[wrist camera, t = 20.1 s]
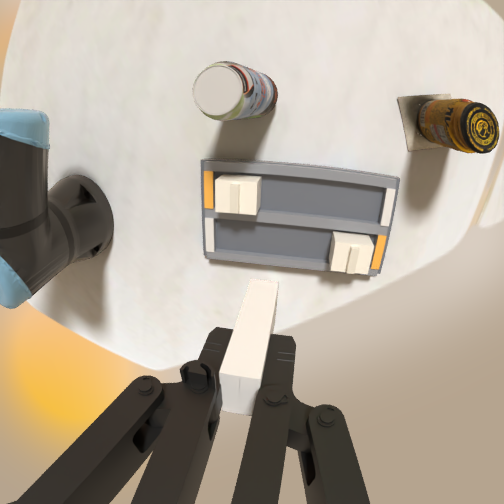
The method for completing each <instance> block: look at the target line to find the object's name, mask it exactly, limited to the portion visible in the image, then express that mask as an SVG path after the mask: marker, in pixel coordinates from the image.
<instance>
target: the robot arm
mask: <svg viewBox="0 0 504 504" xmlns="http://www.w3.org/2000/svg"><path fill="white" fill-rule="evenodd" d="M49 149H50V145H49V119H48V117H47V115H46V114H45V113H44V112H41V111H37V110H28V109H0V304H1V305H2V306H4V307H6V308H9V309H13V308H16V307H18V306H19V305H21V304H22V303H23V302H24V301H26V300H27V299H30V298H31V297H32V296H33V295H34V294H35V293H36V292H37V291H38V290H39V289H41V288H42V287H43V286H44V285H45V284H46V283H47V282H49V281H50V280H51V279H52V278H53V277H54V276H55V275H57V274H58V273H59V272H60V271H61V270H63V269H64V268H65V267H66V266H67V265H69V264H70V263H74V262H77V261H81V260H85V259H89V258H92V257H94V256H96V255H98V254H99V253H100V252H102V251H103V250H104V249H105V248H106V247H107V246H108V244H109V243H110V240H111V238H112V234H113V217H112V212H111V208H110V205H109V203H108V200H107V198H106V196H105V195H104V193H103V192H102V190H101V189H100V188H99V186H98V185H97V184H96V183H95V182H93V181H92V180H91V179H89V178H87V177H85V176H82V175H72V176H69V177H66V178H64V179H62V180H60V181H59V182H57V183H56V184H55V185H54V186H53V187H52V188H51V189H50V190H49V191H48V152H49ZM278 285H279V282H277V281H268V280H259V279H251V280H250V283H249V286H248V288H247V291H246V294H245V297H244V300H243V303H242V306H241V309H240V312H239V315H238V318H237V321H236V324H235V327H234V330H233V329H227V328H220V327H216V328H215V329H214V330H213V331H211V332H210V333H209V335H208V337H207V340H206V343H205V344H204V347H203V350H202V351H201V354H200V356H199V358H198V360H193V361H189V362H187V363H185V364H184V365H183V366H182V367H181V368H180V373H181V377H182V381H181V382H178V383H160V381H159V380H158V379H157V378H155V377H153V376H141V377H138V378H137V379H135V380H134V381H133V382H132V383H131V384H130V385H129V386H128V387H127V388H126V389H125V390H124V391H123V392H122V393H121V394H120V395H119V396H118V397H117V398H116V399H115V400H114V401H113V402H112V404H111V405H110V406H108V408H107V409H106V410H105V411H104V412H103V413H102V414H101V415H100V416H99V417H98V418H97V419H96V420H95V421H94V422H93V423H92V424H91V425H90V426H89V427H88V428H87V429H86V430H85V431H84V432H83V433H82V435H80V437H78V439H76V441H75V442H74V443H73V444H72V445H71V446H70V447H69V448H68V449H67V450H66V451H65V452H64V453H63V454H62V455H61V456H60V457H59V458H58V459H57V460H56V461H55V462H54V463H53V464H52V465H51V466H50V467H49V468H48V469H47V470H46V471H45V472H44V474H42V476H41V477H40V478H39V479H38V480H37V481H36V482H35V483H34V484H33V485H32V486H31V487H30V488H29V489H28V490H27V491H26V492H25V493H24V494H23V495H22V496H21V497H20V498H19V499H18V500H17V501H14V502H12V503H8V504H109V503H110V502H111V501H112V500H113V499H114V497H115V496H116V495H117V494H118V493H119V492H120V490H121V489H122V488H123V487H124V485H125V484H126V483H127V482H128V481H129V480H130V478H131V477H132V476H133V475H134V473H135V472H136V471H137V470H138V469H139V467H140V466H141V465H142V464H143V462H144V461H145V460H146V459H147V457H148V456H149V455H150V453H151V452H152V451H153V453H152V455H151V457H150V459H149V462H148V464H147V467H146V469H145V471H144V474H143V476H142V478H141V481H140V483H139V485H138V488H137V490H136V493H135V495H134V497H133V500H132V502H131V504H194V503H195V500H196V497H197V494H198V491H199V488H200V484H201V481H202V478H203V474H204V471H205V468H206V465H207V461H208V458H209V455H210V452H211V448H212V445H213V441H214V439H215V435H216V432H217V429H218V425H219V419H220V417H219V414H220V411H221V407H222V411H225V412H231V413H236V414H243V415H249V416H252V418H251V423H250V428H249V432H248V436H247V441H246V445H245V449H244V453H243V458H242V462H241V466H240V470H239V474H238V478H237V483H236V486H235V491H234V494H233V498H232V502H231V504H278V499H279V493H280V487H281V480H282V474H283V467H284V460H285V453H286V446H288V447H290V448H293V449H295V450H298V456H299V461H300V467H301V472H302V478H303V483H304V488H305V494H306V500H307V504H370V501H369V498H368V494H367V491H366V487H365V484H364V481H363V477H362V474H361V470H360V467H359V463H358V460H357V457H356V453H355V450H354V447H353V443H352V440H351V437H350V434H349V431H348V428H347V424H346V421H345V418H344V415H343V414H342V412H341V411H340V410H339V409H338V408H337V407H335V406H332V405H319V406H316V407H315V408H314V407H311V406H309V405H306V404H304V403H301V402H300V401H299V400H298V399H296V397H295V396H294V394H293V391H292V384H293V374H294V362H295V351H296V344H295V341H294V339H293V337H292V336H284V335H276V334H273V330H274V324H275V316H276V306H277V296H278Z"/></svg>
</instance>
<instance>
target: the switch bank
mask: <svg viewBox="0 0 504 504" xmlns="http://www.w3.org/2000/svg"><path fill="white" fill-rule="evenodd" d="M223 174H230V175H248V176H262V179H261V203H260V208H259V210H258V212H257V214H256V215H248V214H236V213H223V212H215V180H216V179H217V178H219V177H220V176H221V175H223ZM399 182H400V178H398V177H395V176H390V175H384V174H377V173H371V172H364V171H357V170H350V169H343V168H335V167H326V166H317V165H307V164H297V163H285V162H272V161H256V160H236V159H202V160H201V195H202V227H203V250H204V255H207V258H209V259H218V260H227V261H236V262H245V263H254V264H263V265H272V266H282V267H291V268H301V269H310V270H320V271H330V272H339V271H331V270H330V263H329V253H330V247H331V241H332V234H333V231H339V232H348V233H356V234H365V235H369V237H370V239H371V241H372V243H373V245H374V249H373V254H372V258H371V262H370V267H369V271H368V274H360V275H370V276H377V273H378V274H380V272H381V268H382V265H383V261H384V257H385V252H386V248H387V244H388V240H389V235H390V231H391V226H392V221H393V216H394V211H395V206H396V200H397V194H398V189H399ZM340 273H347V272H340ZM354 274H359V273H354Z"/></svg>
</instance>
